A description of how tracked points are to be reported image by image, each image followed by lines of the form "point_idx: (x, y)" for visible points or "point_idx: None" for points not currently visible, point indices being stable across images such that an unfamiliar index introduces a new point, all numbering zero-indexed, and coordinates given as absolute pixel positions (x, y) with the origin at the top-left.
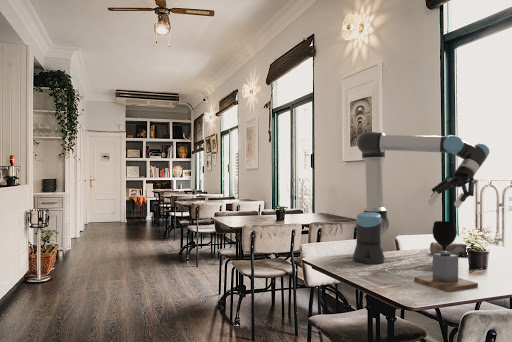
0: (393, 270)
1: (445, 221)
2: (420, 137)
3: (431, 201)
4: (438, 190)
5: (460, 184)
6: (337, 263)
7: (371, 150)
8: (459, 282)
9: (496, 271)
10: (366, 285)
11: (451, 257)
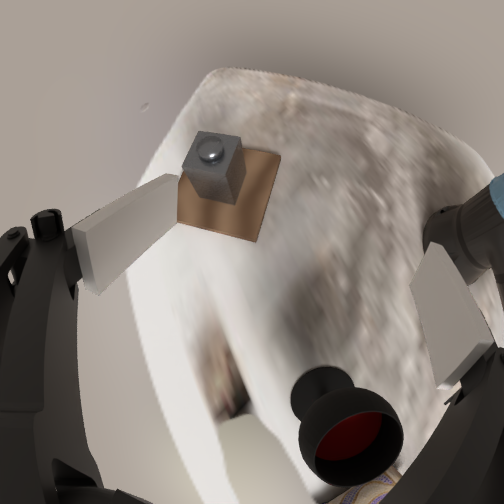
0: (365, 204)
1: (367, 481)
2: None
3: (428, 268)
4: (480, 380)
5: (86, 489)
6: (454, 171)
7: None
8: (193, 190)
9: (186, 412)
10: (314, 87)
11: (192, 146)
